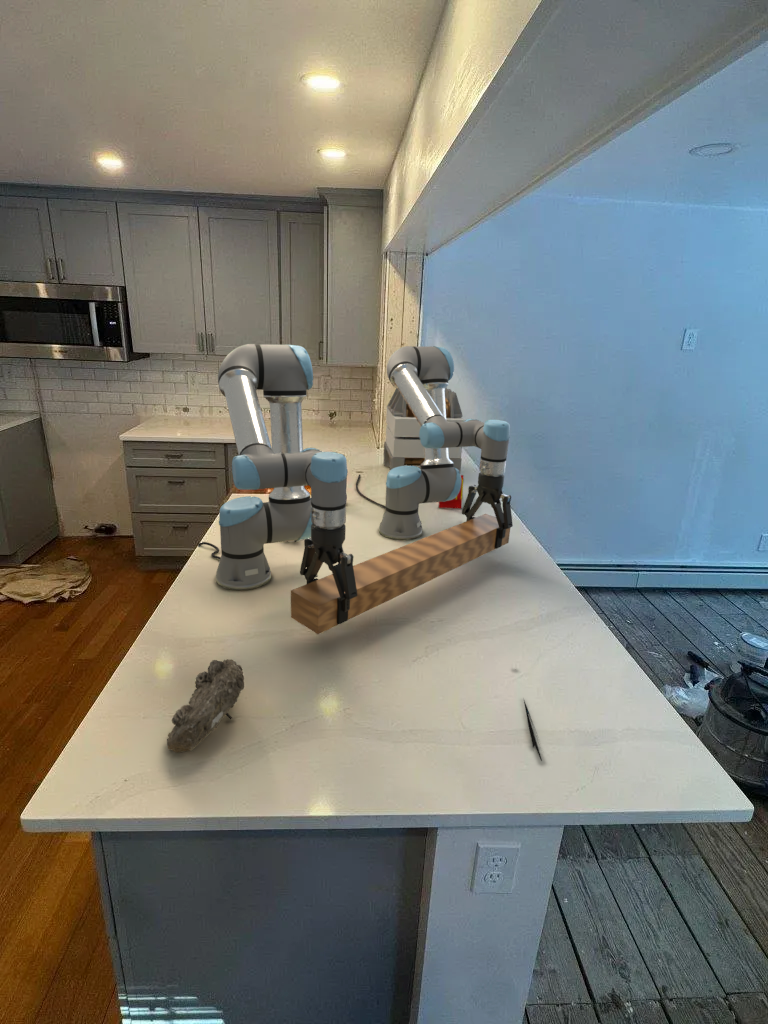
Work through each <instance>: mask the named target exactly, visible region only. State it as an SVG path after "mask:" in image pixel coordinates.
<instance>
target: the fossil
mask: <svg viewBox="0 0 768 1024" xmlns="http://www.w3.org/2000/svg"><path fill="white" fill-rule="evenodd" d="M243 670H244V669H243V667H242V665H240V664H237V662H236V661H235V660H234V659H232V658H231V659H227V658H226V659H224V660H223V661H222V660H217V659H212V660H211V661H210V663H209V665H208V666H207V671H201V672H199V673H198V674H197V675H196V676H195V680H194V684H195V685H194V687H195V689H194V690H193V693H192V694H191V697H190V698H189V700H188V704H184V705H182V706H181V707H180V709H177V710H176V711H175V713H174V715H173V716H172V718H171V723H172V724H173V727H172V730H171V731H170V732H168V734H167V738H166V741H167V742H166V745H167V749H168V750H169V751H173V752H174V753H176V754H178V753H182V752H188V751H189V752H192V751H193V750H195V748H196V747H197V746H199V744H200V743H201V742H203V741H204V740H205V739H206V738H207V737H208V736H209V735H210V734H211V733H212V732H214V730H215V729H217V727H218V726H219V724H220V722H221V721H222V720H223V719H224V718H225V716H226V717H227V719H229V720H233V717H232V715H230V714H229V710H230V709H231V708H234V706H235V704H236V703H237V702H238V699H239V697H240V695H241V693H242V691H243V690H245V689H244V688H245V675H244V671H243Z"/></svg>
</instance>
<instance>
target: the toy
mask: <svg viewBox="0 0 768 1024" xmlns="http://www.w3.org/2000/svg"><path fill="white" fill-rule="evenodd" d="M460 475H461V488H460V491H459V493H458V495H457V497H456V498H454V499H453V500H449V501H445V502H438V509H459V510H460V509H462V508H463V493H464V492H463V491H464V480H465V479H464V475H462V474H460Z"/></svg>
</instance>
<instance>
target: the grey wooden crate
mask: <svg viewBox="0 0 768 1024" xmlns="http://www.w3.org/2000/svg"><path fill="white" fill-rule="evenodd" d="M444 392H445V407H446V421H447V422H463V421H465V420H466V419H464V418H463V411H462V408H461V405H460V402H459V398H458V395H457V392H455V391H453V390H452V389H451V388H448V386H447V387H446V388H445V390H444ZM385 414H386V415H385V423H386V428H385V438H384V442H383V466H384V467H388V468H389V471H390V470H391V469H393V468H396V467H399V466H417V467H421V464H422V463H423V462H424V460H425V459H424V447H423V446H422V444H421V442H420V437H419V432H420V428H421V426H420V424H419V423H418V421H417V419H416V418H415V416H414V414H413V413H412V411H411V409H410V408H409V406H408V404H407V403H406V401H405V399H404V398H403V396H402V394H401V393H400V391H399V390H398V388H395V390H394V392H393V394H392V395H391V398H390V400H389V402H388V404H387V405H386V413H385ZM462 453H463V447H450V448H448V454H449V459H450V460H451V461H452V462H453V465H454V468H456V469H458V470H459V474H460V475H462V474H461V472H462V461H463V460H462Z"/></svg>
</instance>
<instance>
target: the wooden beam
mask: <svg viewBox="0 0 768 1024" xmlns="http://www.w3.org/2000/svg"><path fill="white" fill-rule="evenodd" d="M497 528H499V525H498V522H497V519H496V516H495V515H494V516H493V515H491V514H488V513H484V514H481V515H479V516H476V518H473V519H471V520H468V521H466V520H465V521H464V522H460V523H458V524H456V525H453V526H450V527H448V528H446V529H443V530H440V531H438V532H436V533H433V534H430V535H428V536H425V537H423V538H420V539H418V540H415V541H412V542H410V543H408V544H405V545H402V546H399V547H397V548H395V549H392V550H390V551H387V552H385V553H382V554H380V555H377V556H375V557H372V558H369V559H367V560H363V561H361V562H359V563H357V564H353V569H354V576H355V582H356V588H357V597H354V598H352V599H350V609H349V610H348V621H350V620H352V619H353V618H355V617H357V616H359V615H361V614H363V613H366V612H368V611H370V610H372V609H374V608H376V607H378V606H380V605H383V604H385V603H386V602H389V601H391V600H393V599H395V598H397V597H399V596H401V595H403V594H405V593H407V592H410V591H412V590H414V589H416V588H418V587H420V586H422V585H424V584H426V583H428V582H430V581H432V580H434V579H437V578H439V577H441V576H443V575H445V574H447V573H449V572H451V571H453V570H455V569H457V568H459V567H461V566H463V565H466V564H468V563H470V562H472V561H474V560H476V559H479V558H481V557H482V556H484V555H486V554H489V553H490V552H493V551H495V550H496V549H495V548H494V547H495V539H496V531H497ZM510 535H511V528H508V529H506V532H505V537H504V538H503V539H502V545H501V547H503V546H505V545H507V544H509V541H510ZM344 593H345V592H344ZM338 597H340V595H339V592H338V589H337V586H336V583H335V580H334V577H333V574H332V573H331V574H329V575H326V576H324V577H321V578H318V580H316V581H313V582H311V583H308V584H304V585H301V586H298V587H296V588H294V589H291V590H290V618H291V619H292V620H294V621H295V622H297V623H299V624H300V625H302V626H304V627H305V628H306V629H309V630H310V631H311V632H313V633H315V634H316V635H320V634H322V633H325V632H327V631H328V630H330V629H333V628H335V627H336V626H339V624H337V598H338Z"/></svg>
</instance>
